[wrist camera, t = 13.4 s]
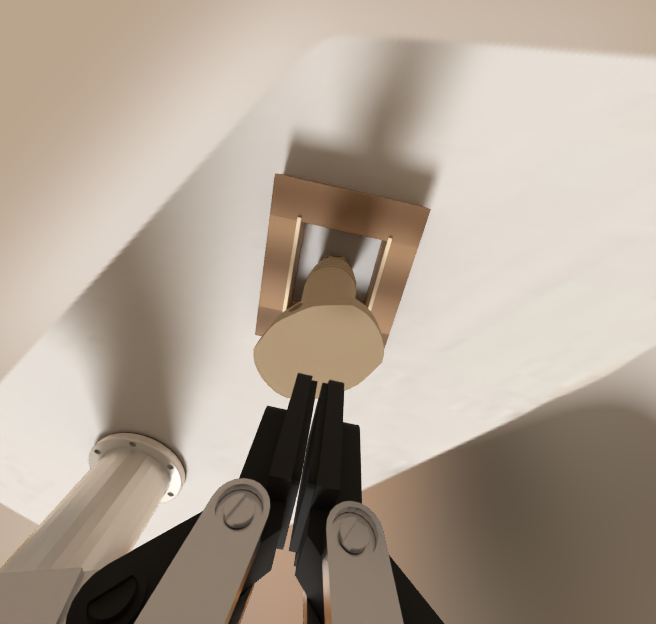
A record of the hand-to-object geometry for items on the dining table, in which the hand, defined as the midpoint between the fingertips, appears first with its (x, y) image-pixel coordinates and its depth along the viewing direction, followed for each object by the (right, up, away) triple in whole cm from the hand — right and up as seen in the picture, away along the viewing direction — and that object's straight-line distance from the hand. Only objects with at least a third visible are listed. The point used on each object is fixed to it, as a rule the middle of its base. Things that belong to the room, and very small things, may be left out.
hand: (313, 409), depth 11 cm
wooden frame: (+1, +8, +18) cm, 19 cm away
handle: (+1, +8, +18) cm, 19 cm away
